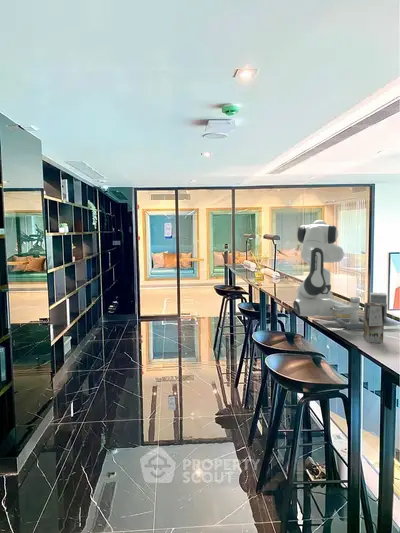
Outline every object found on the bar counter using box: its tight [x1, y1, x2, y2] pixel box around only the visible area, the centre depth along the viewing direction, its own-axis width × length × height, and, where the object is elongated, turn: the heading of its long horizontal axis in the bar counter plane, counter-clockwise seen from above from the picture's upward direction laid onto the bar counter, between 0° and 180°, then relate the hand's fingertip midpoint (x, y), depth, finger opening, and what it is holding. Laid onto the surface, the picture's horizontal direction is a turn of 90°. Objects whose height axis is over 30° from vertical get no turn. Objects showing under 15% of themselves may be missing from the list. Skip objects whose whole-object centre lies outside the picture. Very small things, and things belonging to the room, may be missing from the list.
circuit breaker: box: [369, 292, 388, 322], centre depth 206 cm, size 8×14×15 cm, turn 158°
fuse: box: [349, 296, 361, 323], centre depth 198 cm, size 4×4×14 cm
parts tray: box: [335, 317, 364, 331], centre depth 199 cm, size 12×14×3 cm
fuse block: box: [330, 313, 350, 319], centre depth 214 cm, size 12×12×4 cm
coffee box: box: [363, 302, 385, 344], centre depth 174 cm, size 9×6×16 cm
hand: (353, 306), depth 197 cm, fingers open, 8 cm apart
